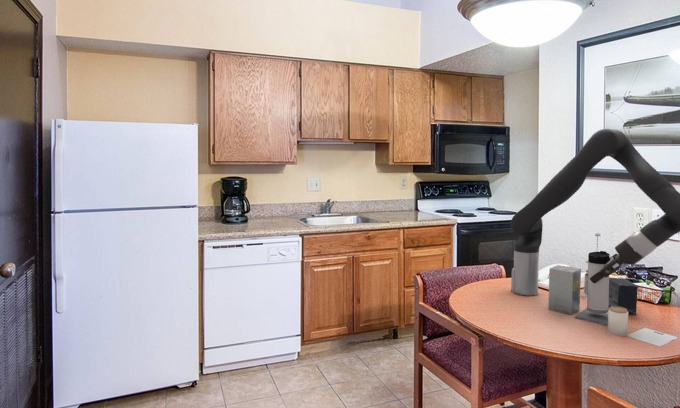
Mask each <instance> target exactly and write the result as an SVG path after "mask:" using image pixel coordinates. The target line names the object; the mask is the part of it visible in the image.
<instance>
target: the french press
mask: <svg viewBox="0 0 680 408" xmlns="http://www.w3.org/2000/svg"><path fill="white" fill-rule="evenodd" d="M594 236H595V237H596V238H597V239H596V249H598V247H599V246H598V245H599V237H601V233H600V232H596V233H595V234H594ZM584 261H585V263H586V264H588V258H586V259H585V260H584ZM585 272H586V273H584V285H583V287H584V288H583V289H584V290H583V292H581V293H580V296H583V297H584V298H587V283H588V269H586V270H585Z"/></svg>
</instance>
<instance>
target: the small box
mask: <svg viewBox="0 0 680 408" xmlns="http://www.w3.org/2000/svg"><path fill="white" fill-rule="evenodd" d="M638 288H639V286H638V285H636V284H635V283H634V282H632V281H630V280H629V279H627V278H625V277H624V278H622V277H621V278H620V277H609V301H608V309H610V307H611V306H620V307H624V308H626V309H627V311H628V316H629V315H633V316H637V307H638V303H637V302H638V291H639V289H638Z"/></svg>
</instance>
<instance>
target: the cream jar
mask: <svg viewBox="0 0 680 408" xmlns="http://www.w3.org/2000/svg"><path fill="white" fill-rule="evenodd" d="M607 314H608V326H607V333H608V334H610V335H614V336H617V337H619V336H620V337H626V336H628V328H629V327H628V326H629V315H628V311H627V309H626V308H624V307H620V306H611V307H610V308H608V312H607Z"/></svg>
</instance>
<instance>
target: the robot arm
mask: <svg viewBox="0 0 680 408" xmlns="http://www.w3.org/2000/svg"><path fill="white" fill-rule="evenodd" d="M606 157H610V158H612V159H613V160H615V161H616V162H618V163H619V164H620V165H621V166H622V167H623V168H624V169H625V170H626V171H627V172H628V174H629V176H630V177H631V180H632V181H633V182H634V183H635V185H636V186H637V187H638V188H639V189H640V190H641V192H643V193H644V194H645V195H646V196H647V197H648V198H649V199H650V201H652V202H653V203H655V204H656V205H657V206H658V207H659V208H660V210H661V211H662V212H663V213H664V214H663V215H662V216H661V217H659V218H658V219H654V220H652V221H650V222H648V223H647V224H646V225H644V226H643V227H642V228H640V229H638V230H636V232H634V233H632V234H630V235H629V236H628V237H627V238H625V239H624V240H622V241H621V242H620V243H618V244H617V245H616V246H615V247H614V249H615V251H616V253H614V254H613V255H611V256H610V259H609V261H608V262H607V263H606V264H605V265H604V266H603V268H602V269H601V270H599V272H597V273H596V274H595V275H593V276H592V277H591V278H590V280H591V281H592V282H593V283H594V284H595V283H597V282H598V281H599V280H601V279H602V278H605V277H608V276H609V277H610V275H612V274H614V273H615V272H616V271H618V270H620V269H621V268H622V267H624V263H626V262H627V263H628V264H629V265H631V266H634V265H636V264H637V263H639V262H640V261H641V260H643V259H645V258H646V257H647V256H648V255H650V254H651V253H653V252H654V251H655V250H656V249H657V248H658V247H660V246H661V245H663V244H664V243H665V242H667V241H668V240H669V239H671V237H673V236H674V235H677V234H679V233H680V192H679V191H677V189H676V188H675V186H674V185H673V184H672V183H670V181H669V180H667V179H666V178H665V176H663V175H662V174H661V173H660V172H659V171H657V170H656V168H655V167H653V166H652V165H651V163H649V162H648V161H647V160H646V159H645V158H644V156H642V155H641V153H640V152H639V151H638V150H637V149H636V148H635V146H634V144H633V143H632V142H631V141H630V140H629V138H628V137H627V135H626V134H625V133H624V132H622V131H620V130H618V129H615V128H602V129H599V130H597V131H596V132H594V133H593V134H592V135H591V136H590V138H589V139H588V140H587V141H586V143H585V144H584V145H583V146H582V148H581V149H580V150H579V151H577V153H576V154H575V156H573V158H572V159H570V160H569V162H567V164H565V166H563V168H562V169H560V170H559V172H557V174H555V175H554V176H553V177H552V178H551V179H550V180H549V182H547V184H545V185H544V187H542V188H541V190H540V191H539V192H538V193H537V194H536V195H535V197H534V198H533V199H532V200H531V201H529V202H528V203H527V204H526V205H525V206H524V207H522V208H521V209H519V211H517V212H516V213H515V214H514V215H513V216H512V218H511V220H510V227H511V231H513V233H515V234H517V235H519V238H518V239H517V241H516V242H515V243H514V246H513V247H514V249H513V250H514V251H513V268H512V267H511V280H510V281H511V286H510V289H511V292H512V293H515V294H517V295H521V296H527V297H528V296H529V297H530V296H536V295H537V296H538V295H539V270H540V269H539V267H540V266H539V265H540V263H539V261H540V247H541V245H542V240H543V239H542V238H543V228H544V227H543V219H542V218H543V217H544V216H545V215H547V214H549V213H550V212H551V211H552V210H555V209H556V208H558V207H559V206H561V205H563V204H564V203H565V202H567V201H569V199H570V198H571V197H573V196H574V194H576V193H577V192H578V191H579V190H580V189H581V187H582V186H583V184H584V182H585V181H586V179H587V177H588V175H589V173H590V171H592V170H593V169H594V168H595V166H596V165H598V164H599V163H600V162H602V160H604V159H605V158H606ZM605 270H607V271H608V273H606V272H605Z"/></svg>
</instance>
